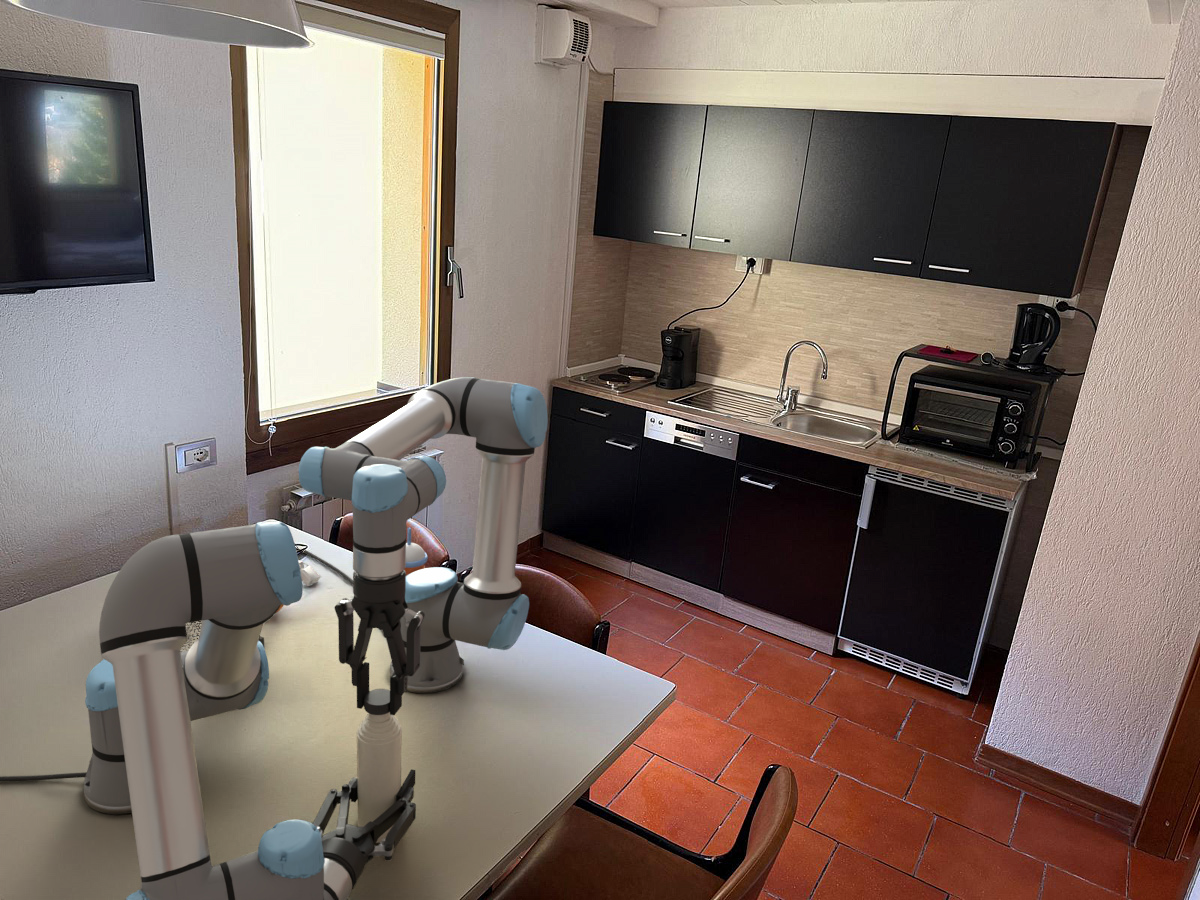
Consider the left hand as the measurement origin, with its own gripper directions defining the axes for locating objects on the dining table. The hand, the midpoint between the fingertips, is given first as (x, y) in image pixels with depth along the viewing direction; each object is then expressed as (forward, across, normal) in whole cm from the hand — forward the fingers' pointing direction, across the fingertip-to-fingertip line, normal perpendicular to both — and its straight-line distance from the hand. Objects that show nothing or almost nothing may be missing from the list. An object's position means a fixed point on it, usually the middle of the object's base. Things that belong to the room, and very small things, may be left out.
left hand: (391, 772), depth 142 cm
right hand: (-5, 0, +16) cm, 17 cm away
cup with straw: (+73, -25, -7) cm, 77 cm away
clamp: (+74, -58, -7) cm, 94 cm away
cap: (-5, 0, +18) cm, 18 cm away
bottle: (-5, 0, -7) cm, 8 cm away
